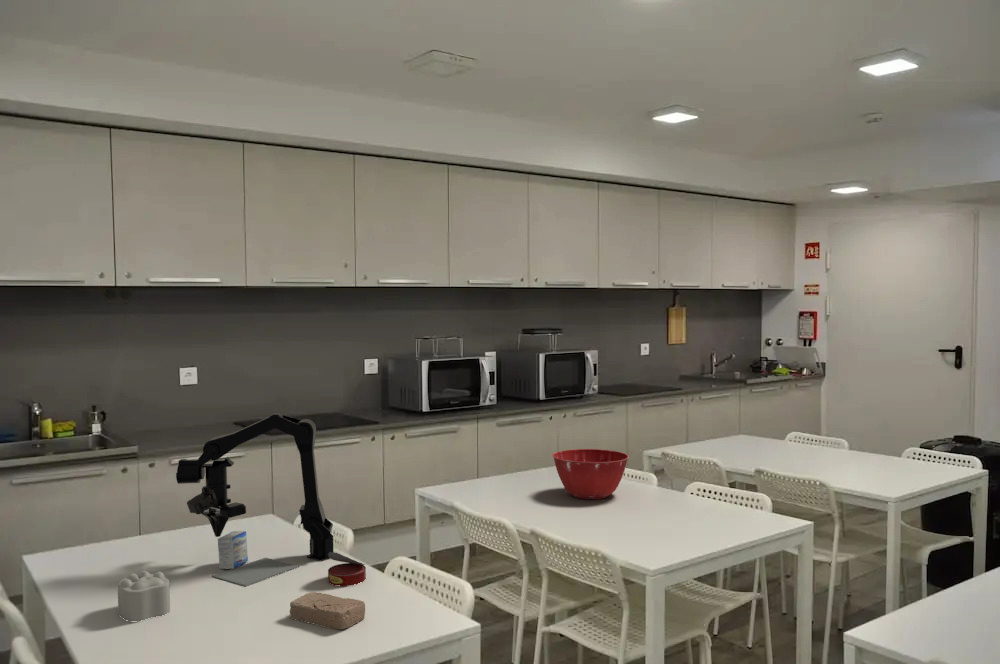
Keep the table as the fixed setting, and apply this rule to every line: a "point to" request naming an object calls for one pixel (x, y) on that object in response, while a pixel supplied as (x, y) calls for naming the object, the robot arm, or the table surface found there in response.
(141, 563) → the table surface
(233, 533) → the medicine box
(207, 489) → the robot arm
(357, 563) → the canned food
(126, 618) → the lumpy-topped squat cylinder
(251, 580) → the mat
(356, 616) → the brick
